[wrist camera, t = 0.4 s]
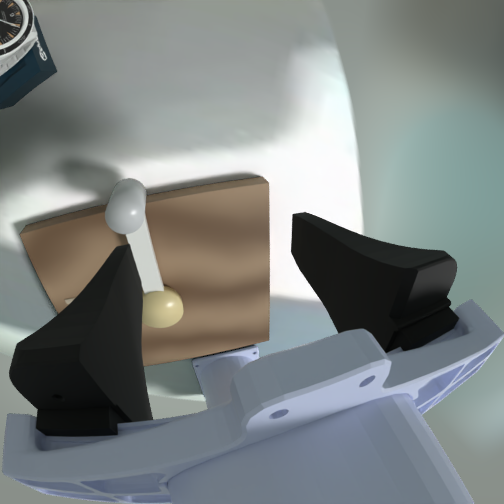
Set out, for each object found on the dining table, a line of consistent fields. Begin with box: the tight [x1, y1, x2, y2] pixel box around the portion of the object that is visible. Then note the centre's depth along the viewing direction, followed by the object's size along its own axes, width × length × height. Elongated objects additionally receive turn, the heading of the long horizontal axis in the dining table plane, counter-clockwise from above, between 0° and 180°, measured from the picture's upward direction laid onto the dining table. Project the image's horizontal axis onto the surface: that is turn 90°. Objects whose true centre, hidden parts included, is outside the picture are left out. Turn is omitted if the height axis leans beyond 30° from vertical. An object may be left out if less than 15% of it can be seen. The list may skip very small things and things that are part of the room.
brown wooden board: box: [20, 177, 270, 366], centre depth 25 cm, size 18×20×2 cm
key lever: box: [105, 178, 183, 328], centre depth 20 cm, size 13×4×3 cm, turn 2°
